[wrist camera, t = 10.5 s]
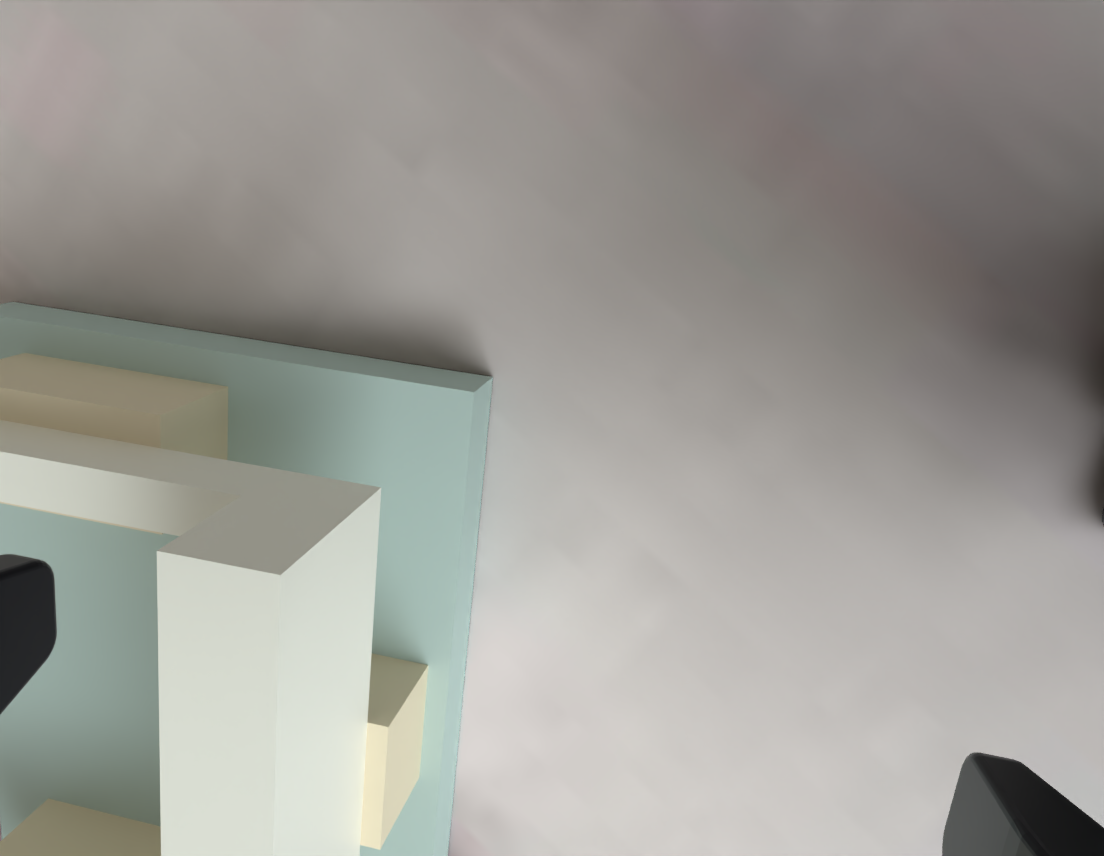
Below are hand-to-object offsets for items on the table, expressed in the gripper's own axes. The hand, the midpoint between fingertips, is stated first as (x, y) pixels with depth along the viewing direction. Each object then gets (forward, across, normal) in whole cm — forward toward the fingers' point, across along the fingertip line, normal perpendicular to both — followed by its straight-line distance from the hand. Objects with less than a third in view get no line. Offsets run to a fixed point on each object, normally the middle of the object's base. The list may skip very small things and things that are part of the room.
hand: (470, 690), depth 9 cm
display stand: (+12, +9, +8) cm, 17 cm away
